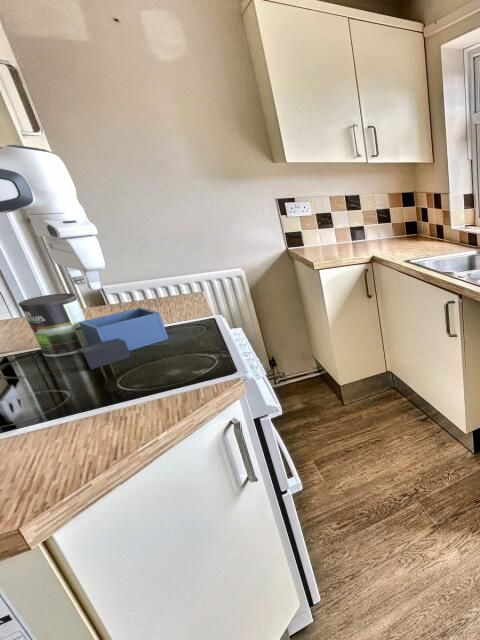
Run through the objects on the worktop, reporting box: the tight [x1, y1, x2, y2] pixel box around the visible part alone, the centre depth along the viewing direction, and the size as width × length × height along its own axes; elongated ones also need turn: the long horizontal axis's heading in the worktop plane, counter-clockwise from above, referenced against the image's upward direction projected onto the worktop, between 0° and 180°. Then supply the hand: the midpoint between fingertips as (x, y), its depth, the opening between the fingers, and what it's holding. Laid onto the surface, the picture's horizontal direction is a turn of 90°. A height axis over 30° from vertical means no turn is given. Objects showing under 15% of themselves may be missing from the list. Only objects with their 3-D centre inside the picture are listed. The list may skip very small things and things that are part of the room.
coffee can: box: [18, 292, 89, 358], centre depth 110 cm, size 10×10×14 cm
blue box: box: [79, 307, 169, 352], centre depth 114 cm, size 14×11×8 cm
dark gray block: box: [77, 338, 132, 371], centre depth 104 cm, size 8×4×5 cm, turn 151°
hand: (87, 286), depth 99 cm, fingers open, 8 cm apart
